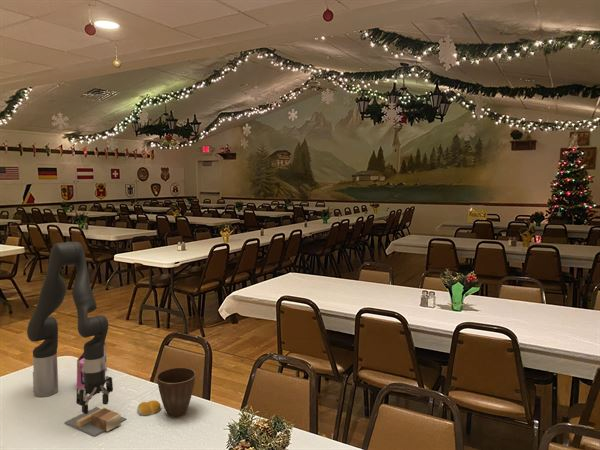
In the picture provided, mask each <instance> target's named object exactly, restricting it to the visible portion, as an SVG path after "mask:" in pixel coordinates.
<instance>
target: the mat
mask: <svg viewBox="0 0 600 450" xmlns="http://www.w3.org/2000/svg"><path fill="white" fill-rule="evenodd" d="M104 408H106V407H102V408H100V407H97V406H95V407H93V408H91V409H88V414H84V413H83V412H82V413H81V414H79V415H76V416H74V417H72V418H69V419H67V420H66V421H64V422H63V423H64V425H67V426H69V427H71V428H73V429H76V430H78V431H80V432H83V433H85V434H87V435H90V436H91V437H94V438H96V437H98V436H99V435H101V434H103V433H105V432H106V431H105V430H102V429H100V428H98V427H95V426H93V425H92V422H91V415H92V414H94V413H96V412H98V411H100V410H102V409H104ZM106 409H108V408H106ZM126 420H127V418H126V417H123V416H121V424H122V423H123V422H124V423H125V422H126Z"/></svg>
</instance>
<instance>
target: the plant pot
mask: <svg viewBox="0 0 600 450" xmlns="http://www.w3.org/2000/svg"><path fill="white" fill-rule="evenodd" d="M156 380H157V386H158V391H159V396H160V398H161V402H162V405H163V408H164V411H165V413H166V415H167V416H168V417H170V418H180V417H183V416H184V415H186V413H187V411H188V409H189V406H190V403H191V399H192V397H193V392H194V386H195V381H196V371H195V370H193V369H192V368H188V367H173V368H167V369H165V370H163V371H160V372H159V373H158V374H157V376H156Z"/></svg>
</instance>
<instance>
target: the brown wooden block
mask: <svg viewBox="0 0 600 450" xmlns="http://www.w3.org/2000/svg"><path fill="white" fill-rule="evenodd" d="M103 408H104V409H102V408H101V409H102V410H100V411H98V412H96V413H94V414H92V415H91V422H92V425H93V426H95V427H98V428H100V429H102V430H105V432H109V431H111V430H113V429H115V428H117V427H118V426H120V425H121V424H122V423H121V417H122V416H121V413H120V412H119V413H118V412H116V411H114V410H111V409H108V408H107V409H106V407H103Z"/></svg>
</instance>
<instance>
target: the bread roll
mask: <svg viewBox="0 0 600 450" xmlns="http://www.w3.org/2000/svg"><path fill="white" fill-rule="evenodd" d="M161 407H162V406H161V403H160V402H159V401H158V400H148V401H147V402H145V401H143V402H140V403H139V404H138V406H137V409H136V411H137V412H136V413H138V415H139V416H150V415H155V414H158V413H159V411H160V410H161Z"/></svg>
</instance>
